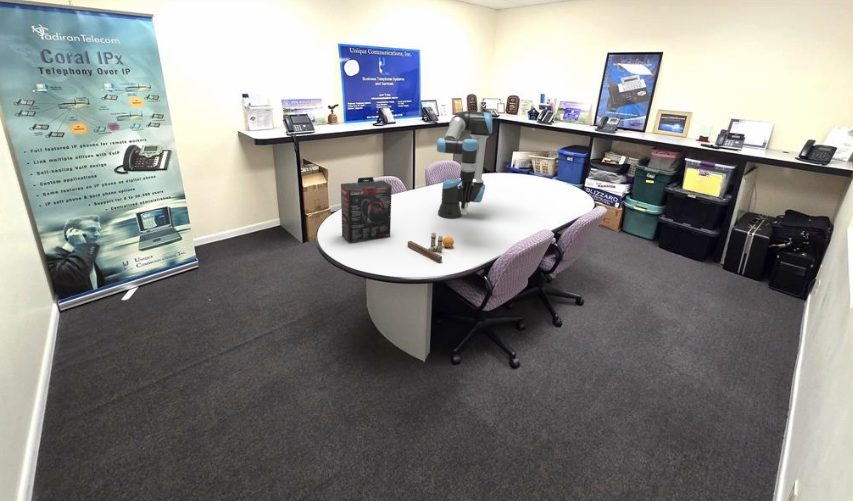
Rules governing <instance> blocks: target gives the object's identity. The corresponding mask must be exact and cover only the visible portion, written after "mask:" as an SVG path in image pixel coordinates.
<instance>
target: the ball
mask: <svg viewBox="0 0 853 501" xmlns="http://www.w3.org/2000/svg"><path fill="white" fill-rule="evenodd" d="M454 243H455V240H454V237H452V236H449V235H447V236H445V237H443V242H442V245H443V247H446V248H451V247H453V246H454Z"/></svg>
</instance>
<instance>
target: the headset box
mask: <svg viewBox="0 0 853 501" xmlns="http://www.w3.org/2000/svg"><path fill="white" fill-rule="evenodd" d="M392 190H393V189H392V185H391V184H390V183H389V182H386V181H384V180H374V176H369V177H368V176H367V177H366V176H365V177H358V178H357V182H348V183H340V201H341V204H340V205H341V206H340V207H341V236H342V238H344V239H345V240H346V241H347V242H348V243H349V244H351V243H359V242H364V241H366V242H367V241H372V240H378V239H384V238H390V237H391V222H392V221H391V220H392V215H391V214H392V192H393V191H392Z"/></svg>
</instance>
